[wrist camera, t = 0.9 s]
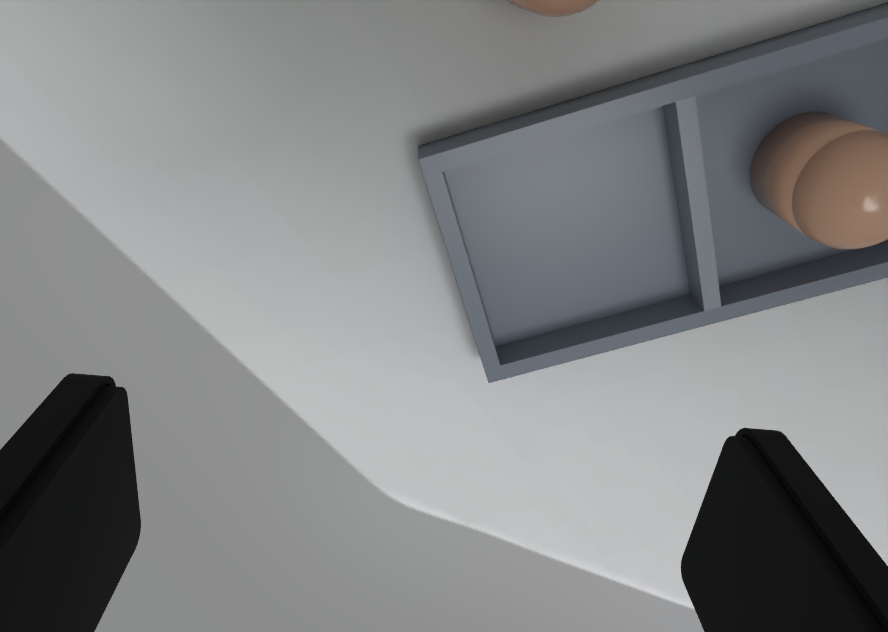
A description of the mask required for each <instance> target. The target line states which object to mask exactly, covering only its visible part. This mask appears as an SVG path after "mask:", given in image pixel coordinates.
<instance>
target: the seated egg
mask: <svg viewBox="0 0 888 632" xmlns="http://www.w3.org/2000/svg"><path fill="white" fill-rule="evenodd" d="M750 183H751V188H752V191H753V193H754V195H755V197H756V199H757V200H758V201H759V203H760V204H761V205H762V206H763V207H765V208H766V209H768V210H769V211H771V212H772V213H774V214H775V215H776V216H778V217H779V218H781V219H782V220H784V221H785V222H787V223H788V224H790V225H791V226H793V227H794V228H795V229H797V230H798V231H800V232H801V233H803V234H804V235H806V236H807V237H809V238H810V239H812V240H813V241H815V242H817V243H819V244H821V245H825V246H828V247H831V248H837V249H860V248H865V247H870V246H873V245H876V244H878V243H881V242H883V241H885V240H887V239H888V134H887V133H884V132H882V131H879V130H876V129H873V128H870V127H867V126H864V125H861V124H858V123H856V122H853V121H850V120H847V119H844V118H841V117H838V116H835V115H832V114H830V113H826V112H817V111H813V112H805V113H801V114H798V115H795V116H792V117H790V118H788V119H786V120H785V121H783V122H781V123H780V124H778V125H777V126H776V127H775V128H773V129H772V130H771V131H770V132H769V133H768V134H767V135H766V137H765V138H764V139H763V140H762V142H761V143H760V145H759V146H758V148H757V150H756V152H755V154H754V157H753V160H752V164H751V169H750Z"/></svg>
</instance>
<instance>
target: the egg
mask: <svg viewBox="0 0 888 632" xmlns="http://www.w3.org/2000/svg"><path fill="white" fill-rule="evenodd" d="M508 1H509V2H511V3H512V4H514V5H516V6H518V7H520V8H523V9H526V10H528V11H531V12H534V13H537V14H540V15H545V16H554V17H559V16H568V15H572V14H576V13H579V12H581V11H584V10H586V9H587V8H589V7H591V6H593V5H594V4H595V3H597V2H598V1H600V0H508Z"/></svg>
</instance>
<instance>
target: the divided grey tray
mask: <svg viewBox="0 0 888 632" xmlns="http://www.w3.org/2000/svg"><path fill="white" fill-rule="evenodd" d="M813 111H817V112H826V113H830V114H832V115H835V116H838V117H841V118H844V119H847V120H850V121H853V122H856V123H858V124H861V125H864V126H867V127H870V128H873V129H876V130H879V131H882V132H884V133H887V134H888V3H886V4H882V5H879V6H876V7H873V8H869V9H866V10H863V11H860V12H856V13H853V14H850V15H846V16H843V17H840V18H837V19H833V20H830V21H827V22H824V23H820V24H817V25H814V26H810V27H807V28H804V29H801V30H797V31H794V32H791V33H788V34H784V35H781V36H778V37H774V38H771V39H768V40H765V41H761V42H758V43H755V44H751V45H748V46H745V47H742V48H738V49H735V50H732V51H729V52H725V53H722V54H719V55H715V56H712V57H709V58H706V59H702V60H699V61H696V62H693V63H689V64H686V65H683V66H679V67H676V68H673V69H670V70H666V71H663V72H660V73H656V74H653V75H650V76H647V77H643V78H640V79H637V80H634V81H630V82H627V83H624V84H620V85H617V86H614V87H611V88H607V89H604V90H601V91H598V92H594V93H591V94H588V95H584V96H581V97H578V98H575V99H571V100H568V101H565V102H562V103H558V104H555V105H552V106H548V107H545V108H542V109H539V110H535V111H532V112H529V113H525V114H522V115H519V116H516V117H512V118H509V119H506V120H503V121H499V122H496V123H493V124H489V125H486V126H483V127H480V128H476V129H473V130H470V131H467V132H463V133H460V134H457V135H453V136H450V137H447V138H444V139H440V140H437V141H434V142H430V143H427V144H424V145H421V146H419V151H418V160H419V163H420V167H421V170H422V173H423V176H424V179H425V182H426V186H427V189H428V192H429V195H430V198H431V201H432V205H433V208H434V211H435V214H436V217H437V221H438V224H439V227H440V230H441V233H442V236H443V240H444V243H445V246H446V249H447V252H448V255H449V259H450V262H451V265H452V268H453V271H454V275H455V278H456V281H457V284H458V287H459V290H460V294H461V297H462V300H463V303H464V306H465V309H466V313H467V316H468V319H469V322H470V325H471V328H472V332H473V335H474V338H475V341H476V344H477V348H478V351H479V354H480V357H481V360H482V363H483V367H484V370H485V373H486V376H487V379H488V382H489V383H491V382H494V381H498V380H502V379H506V378H509V377H513V376H517V375H521V374H525V373H528V372H532V371H536V370H540V369H543V368H547V367H551V366H555V365H559V364H562V363H566V362H570V361H574V360H577V359H581V358H585V357H589V356H592V355H596V354H600V353H604V352H608V351H611V350H615V349H619V348H623V347H626V346H630V345H634V344H638V343H642V342H645V341H649V340H653V339H657V338H660V337H664V336H668V335H672V334H676V333H679V332H683V331H687V330H691V329H694V328H698V327H702V326H706V325H710V324H713V323H717V322H721V321H725V320H728V319H732V318H736V317H740V316H743V315H747V314H751V313H755V312H759V311H762V310H766V309H770V308H774V307H777V306H781V305H785V304H789V303H793V302H796V301H800V300H804V299H808V298H811V297H815V296H819V295H823V294H827V293H830V292H834V291H838V290H842V289H845V288H849V287H853V286H857V285H860V284H864V283H868V282H872V281H876V280H879V279H883V278H887V277H888V239H887V240H885V241H883V242H881V243H878V244H876V245H873V246H870V247H865V248H860V249H837V248H831V247H828V246H825V245H821V244H819V243H817V242H815V241H813V240H812V239H810V238H809V237H807V236H806V235H804V234H803V233H801V232H800V231H798V230H797V229H795V228H794V227H793V226H791V225H790V224H788V223H787V222H785V221H784V220H782V219H781V218H779V217H778V216H776V215H775V214H774V213H772V212H771V211H769V210H768V209H766V208H765V207H763V206H762V205H761V204H760V203H759V201H758V200H757V199H756V197H755V195H754V193H753V191H752V188H751V183H750V169H751V164H752V160H753V157H754V154H755V152H756V150H757V148H758V146H759V145H760V143H761V142H762V140H763V139H764V138H765V137H766V135H767V134H768V133H769V132H770V131H771V130H772V129H773V128H775V127H776V126H777V125H778V124H780V123H781V122H783V121H785V120H786V119H788V118H790V117H792V116H795V115H798V114H801V113H805V112H813Z"/></svg>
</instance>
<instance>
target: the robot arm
mask: <svg viewBox="0 0 888 632" xmlns="http://www.w3.org/2000/svg"><path fill="white" fill-rule="evenodd" d="M140 529H141V519H140V511H139V500H138V491H137V482H136V472H135V463H134V453H133V444H132V434H131V425H130V415H129V406H128V397H127V392H126V390H125V388H123V387H116V385H115V382H114V380H113V378H111V377H110V376H97V375H85V374H73V373H72V374H68V375H67V376H66V377H64V378H63V380H62V381H61V382H60V383H59V384H58V385H57V386H56V388H55V389H54V390H53V391H52V392H51V393H50V394H49V395H48V397H47V398H46V399H45V400H44V401H43V402H42V403H41V405H40V406H39V407H38V408H37V409H36V410H35V411H34V412H33V414H32V415H31V416H30V417H29V418H28V419H27V420H26V422H25V423H24V424H23V425H22V426H21V427H20V428H19V429H18V431H17V432H16V433H15V434H14V435H13V436H12V437H11V438H10V440H9V441H8V442H7V443H6V444H5V445H4V446H3V448H2V449H1V450H0V632H94V631H95V629H96V627H97V625H98V623H99V621H100V619H101V617H102V615H103V613H104V611H105V609H106V607H107V605H108V603H109V601H110V599H111V597H112V595H113V593H114V591H115V589H116V587H117V585H118V583H119V581H120V579H121V577H122V575H123V573H124V571H125V569H126V566H127V565H128V563H129V561H130V558H131V557H132V555H133V553H134V551H135V549H136V546H137V543H138V540H139V536H140ZM681 574H682V579H683V582H684V585H685V587H686V589H687V592H688V594H689V596H690V599H691V601H692V603H693V606H694V608H695V610H696V613H697V615H698V617H699V620H700V622H701V624H702V627H703V629H704V631H705V632H888V566H887V565H886V563H885V562H884V561H883V560H882V558H881V557H880V556H879V555H878V553H877V552H876V551H875V549H874V548H873V547H872V546H871V544H870V543H869V542H868V541H867V539H866V538H865V537H864V535H863V534H862V533H861V532H860V530H859V529H858V528H857V527H856V525H855V524H854V523H853V521H852V520H851V519H850V518H849V516H848V515H847V514H846V513H845V511H844V510H843V509H842V507H841V506H840V505H839V504H838V502H837V501H836V500H835V498H834V497H833V496H832V495H831V493H830V492H829V491H828V490H827V488H826V487H825V486H824V484H823V483H822V482H821V481H820V479H819V478H818V477H817V476H816V474H815V473H814V472H813V470H812V469H811V468H810V467H809V465H808V464H807V463H806V462H805V460H804V459H803V458H802V456H801V455H800V454H799V453H798V451H797V450H796V449H795V448H794V446H793V445H792V444H791V442H790V441H789V440H788V439H787V437H786V436H785V435H784V434H783V433H782V432H780V431H775V430H763V429H751V428H743V429H740V430H739V431H738V432H737V433H736V435H735V436H730V437H728V438H727V439H726V441H725V443H724V445H723V448H722V451H721V454H720V456H719V459H718V462H717V464H716V467H715V470H714V473H713V475H712V478H711V481H710V483H709V486H708V489H707V492H706V494H705V497H704V500H703V502H702V505H701V508H700V511H699V513H698V516H697V519H696V522H695V524H694V527H693V530H692V532H691V535H690V538H689V541H688V543H687V546H686V549H685V551H684V554H683V557H682V561H681Z"/></svg>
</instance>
